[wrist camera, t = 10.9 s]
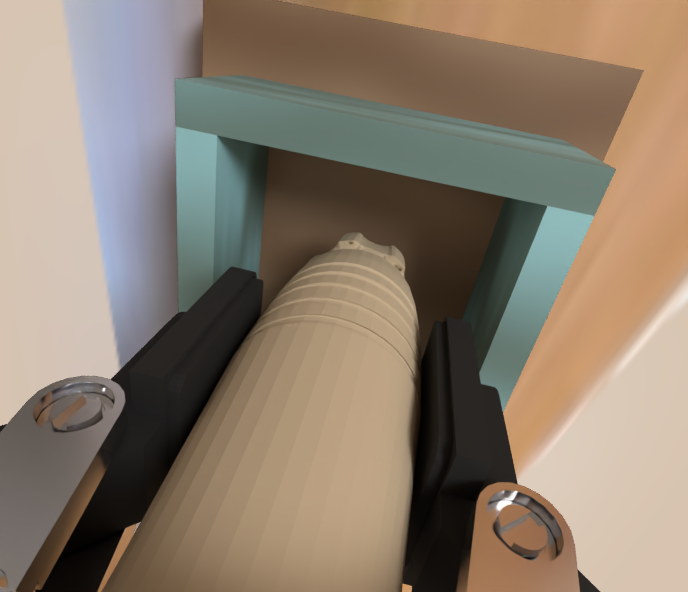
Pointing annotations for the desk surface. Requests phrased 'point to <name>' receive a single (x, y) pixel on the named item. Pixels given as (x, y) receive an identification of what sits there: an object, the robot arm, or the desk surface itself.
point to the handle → (299, 445)
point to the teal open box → (393, 163)
